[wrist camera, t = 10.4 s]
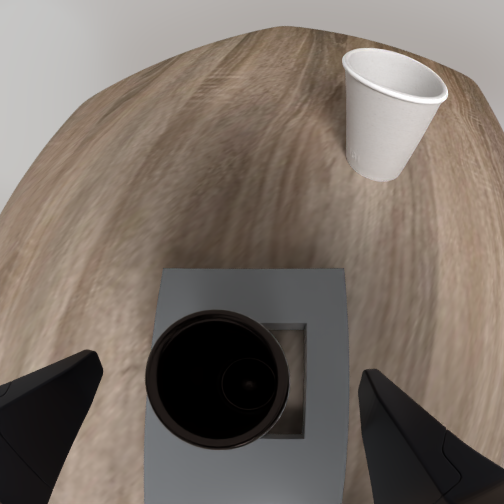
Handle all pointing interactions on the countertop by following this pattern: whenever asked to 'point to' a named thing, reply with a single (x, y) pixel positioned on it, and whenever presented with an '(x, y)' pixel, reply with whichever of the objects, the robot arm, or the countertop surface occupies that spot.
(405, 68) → the dixie cup
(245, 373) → the gray tube
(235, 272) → the socket board
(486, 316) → the countertop surface
